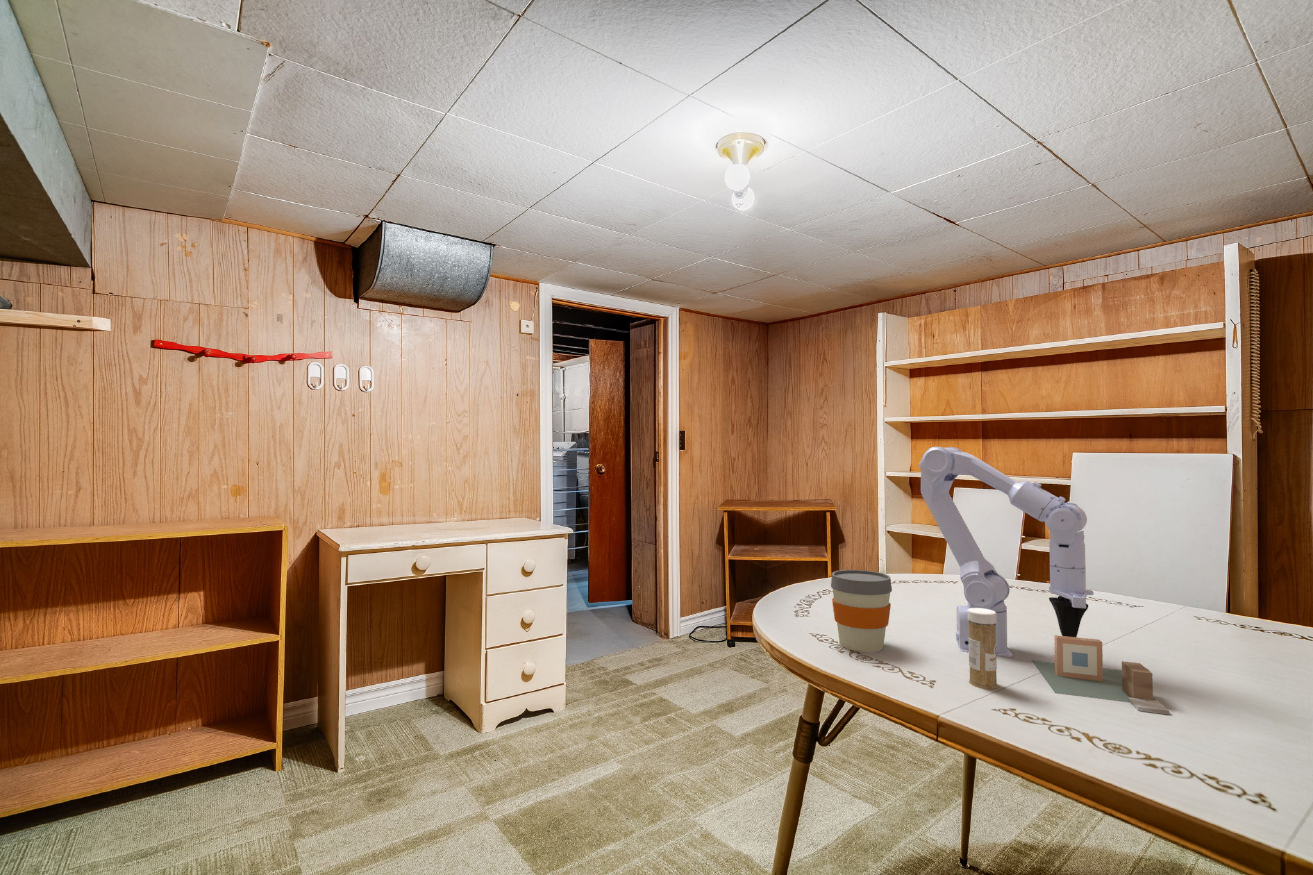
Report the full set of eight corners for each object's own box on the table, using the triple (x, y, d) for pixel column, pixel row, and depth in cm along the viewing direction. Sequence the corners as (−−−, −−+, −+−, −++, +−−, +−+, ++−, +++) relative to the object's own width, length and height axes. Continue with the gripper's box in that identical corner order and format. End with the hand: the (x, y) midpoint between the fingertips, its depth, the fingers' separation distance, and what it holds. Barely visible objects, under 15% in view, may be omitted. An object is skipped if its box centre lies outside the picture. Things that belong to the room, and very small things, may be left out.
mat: (1055, 695, 102) (1055, 692, 102) (1031, 662, 117) (1031, 660, 117) (1163, 708, 96) (1163, 706, 96) (1123, 672, 112) (1123, 670, 112)
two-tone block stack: (1117, 689, 103) (1116, 660, 103) (1145, 692, 102) (1144, 663, 102) (1138, 710, 95) (1137, 679, 95) (1169, 714, 93) (1168, 682, 93)
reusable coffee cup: (892, 658, 120) (891, 583, 120) (828, 650, 124) (827, 578, 125) (892, 640, 131) (891, 572, 132) (833, 633, 136) (833, 567, 136)
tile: (1057, 676, 109) (1057, 638, 109) (1054, 672, 111) (1054, 635, 111) (1103, 681, 107) (1102, 642, 107) (1099, 678, 108) (1099, 639, 108)
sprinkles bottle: (1000, 692, 103) (999, 614, 103) (971, 689, 104) (970, 612, 104) (994, 682, 107) (993, 607, 107) (966, 679, 108) (965, 605, 109)
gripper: (1105, 574, 107) (1107, 650, 106) (1080, 561, 120) (1081, 628, 120) (1059, 572, 109) (1060, 646, 109) (1039, 559, 123) (1041, 625, 122)
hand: (1068, 636), depth 114 cm, fingers closed
